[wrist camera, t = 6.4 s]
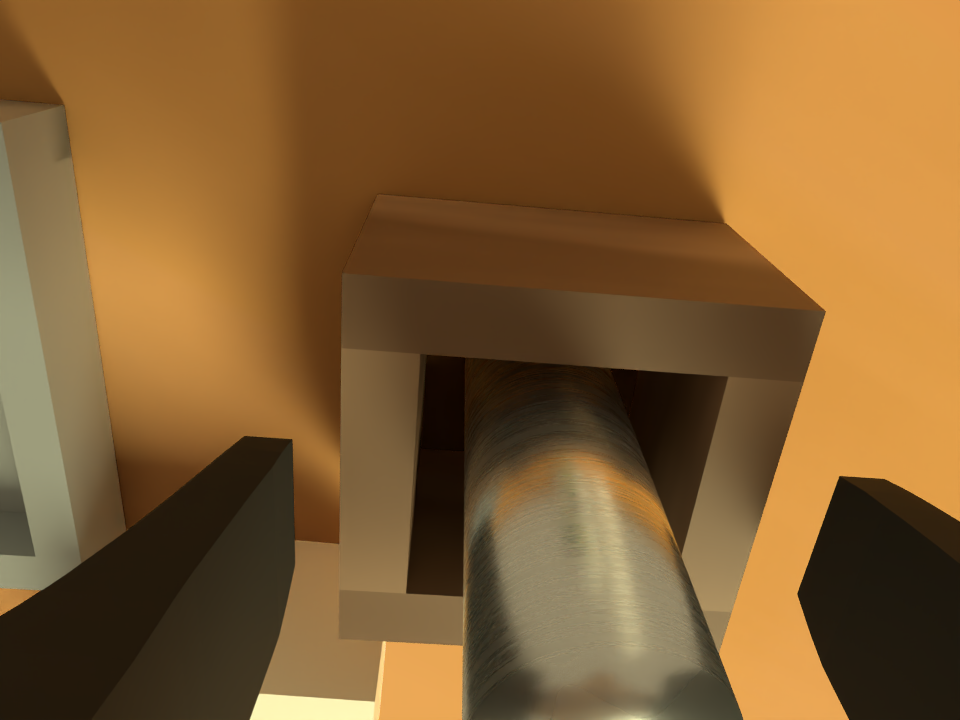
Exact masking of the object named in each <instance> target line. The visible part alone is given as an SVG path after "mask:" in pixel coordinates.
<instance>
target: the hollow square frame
mask: <svg viewBox="0 0 960 720" xmlns="http://www.w3.org/2000/svg"><path fill="white" fill-rule="evenodd" d="M825 312H826V311H825V310H824V309H822V308H821V307H820V306H819V305H818V304H817V303H816V302H814V301H813V300H812V299H811V298H810V297H809V296H808V295H807V294H805V293H804V292H803V291H802V290H801V289H800V288H799V287H798V286H796V285H795V284H794V283H793V282H792V281H791V280H790V279H788V278H787V277H786V276H785V275H784V274H783V273H782V272H781V271H779V270H778V269H777V268H776V267H775V266H774V265H773V264H771V263H770V262H769V261H768V260H767V259H766V258H765V257H764V256H762V255H761V254H760V253H759V252H758V251H757V250H756V249H755V248H753V247H752V246H751V245H750V244H749V243H748V242H747V241H745V240H744V239H743V238H742V237H741V236H740V235H739V234H738V233H736V232H735V231H734V230H733V229H732V228H731V227H730V226H728V225H727V224H726V223H714V222H702V221H690V220H679V219H667V218H655V217H643V216H631V215H620V214H608V213H596V212H584V211H572V210H561V209H549V208H537V207H525V206H513V205H501V204H490V203H478V202H466V201H454V200H442V199H431V198H419V197H407V196H395V195H383V194H377V197H376V199H375V201H374V203H373V205H372V208H371V210H370V212H369V214H368V217H367V219H366V221H365V223H364V225H363V228H362V230H361V232H360V234H359V237H358V239H357V241H356V243H355V245H354V248H353V250H352V252H351V254H350V256H349V259H348V261H347V263H346V265H345V268H344V270H343V272H342V320H341V427H340V535H339V639H350V640H368V641H387V642H406V643H424V644H443V645H462V646H463V568H464V452H462V451H447V450H432V449H421V438H422V423H423V407H424V392H425V377H426V361H427V355H441V356H454V357H468V358H481V359H495V360H509V361H522V362H536V363H549V364H563V365H576V366H590V367H603V368H617V369H631V370H639V371H638V376H637V380H636V385H635V390H634V395H633V400H632V405H631V410H630V415H629V419H630V422H631V425H632V427H633V430H634V433H635V435H636V438H637V440H638V443H639V446H640V448H641V451H642V454H643V456H644V459H645V461H646V464H647V467H648V469H649V472H650V475H651V477H652V480H653V482H654V485H655V488H656V490H657V493H658V496H659V498H660V501H661V504H662V506H663V509H664V511H665V514H666V517H667V519H668V522H669V525H670V527H671V530H672V532H673V535H674V538H675V540H676V543H677V546H678V548H679V551H680V553H681V556H682V559H683V561H684V564H685V567H686V569H687V572H688V574H689V577H690V580H691V582H692V585H693V588H694V590H695V593H696V596H697V598H698V601H699V603H700V606H701V609H702V611H703V614H704V617H705V619H706V622H707V624H708V627H709V630H710V632H711V635H712V638H713V640H714V643H715V645H716V648H717V651H718V653H719V651H720V648H721V645H722V641H723V638H724V635H725V632H726V629H727V625H728V622H729V619H730V616H731V613H732V609H733V606H734V603H735V600H736V597H737V593H738V590H739V587H740V584H741V581H742V577H743V574H744V571H745V568H746V565H747V561H748V558H749V555H750V552H751V549H752V545H753V542H754V539H755V536H756V533H757V530H758V526H759V523H760V520H761V517H762V514H763V510H764V507H765V504H766V501H767V498H768V494H769V491H770V488H771V485H772V482H773V478H774V475H775V472H776V469H777V466H778V462H779V459H780V456H781V453H782V450H783V446H784V443H785V440H786V437H787V434H788V430H789V427H790V424H791V421H792V418H793V414H794V411H795V408H796V405H797V402H798V398H799V395H800V392H801V389H802V386H803V382H804V379H805V376H806V373H807V370H808V366H809V363H810V360H811V357H812V354H813V351H814V347H815V344H816V341H817V338H818V335H819V331H820V328H821V325H822V322H823V319H824V315H825Z"/></svg>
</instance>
